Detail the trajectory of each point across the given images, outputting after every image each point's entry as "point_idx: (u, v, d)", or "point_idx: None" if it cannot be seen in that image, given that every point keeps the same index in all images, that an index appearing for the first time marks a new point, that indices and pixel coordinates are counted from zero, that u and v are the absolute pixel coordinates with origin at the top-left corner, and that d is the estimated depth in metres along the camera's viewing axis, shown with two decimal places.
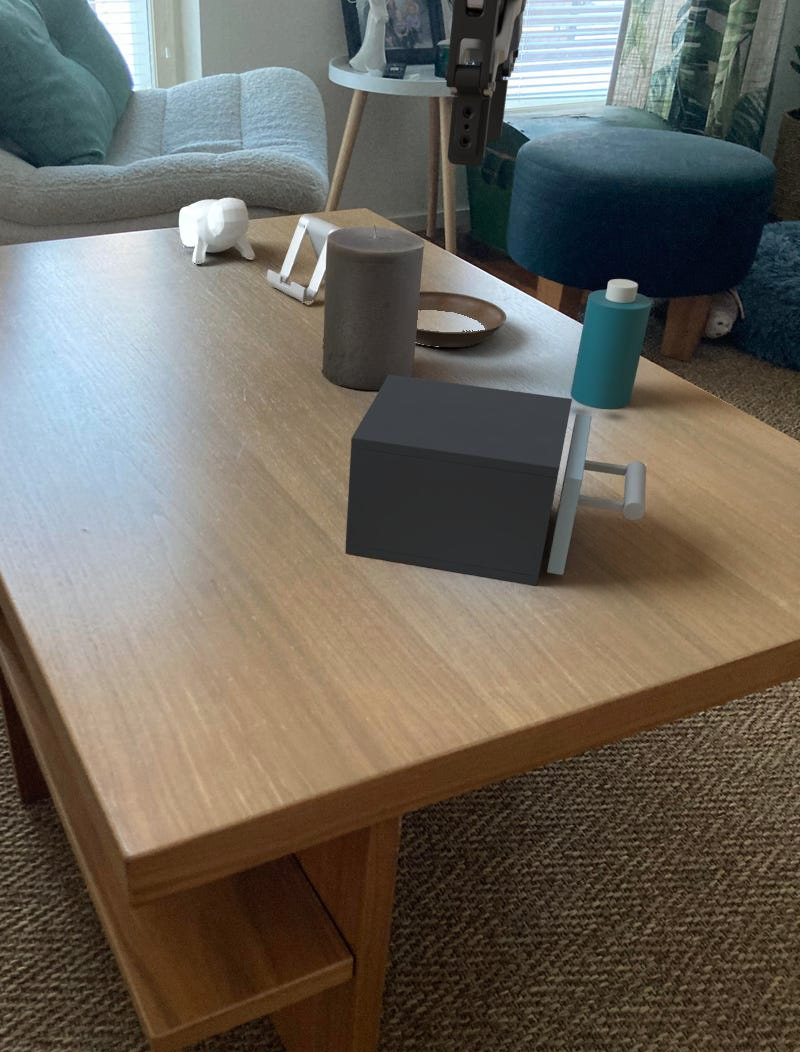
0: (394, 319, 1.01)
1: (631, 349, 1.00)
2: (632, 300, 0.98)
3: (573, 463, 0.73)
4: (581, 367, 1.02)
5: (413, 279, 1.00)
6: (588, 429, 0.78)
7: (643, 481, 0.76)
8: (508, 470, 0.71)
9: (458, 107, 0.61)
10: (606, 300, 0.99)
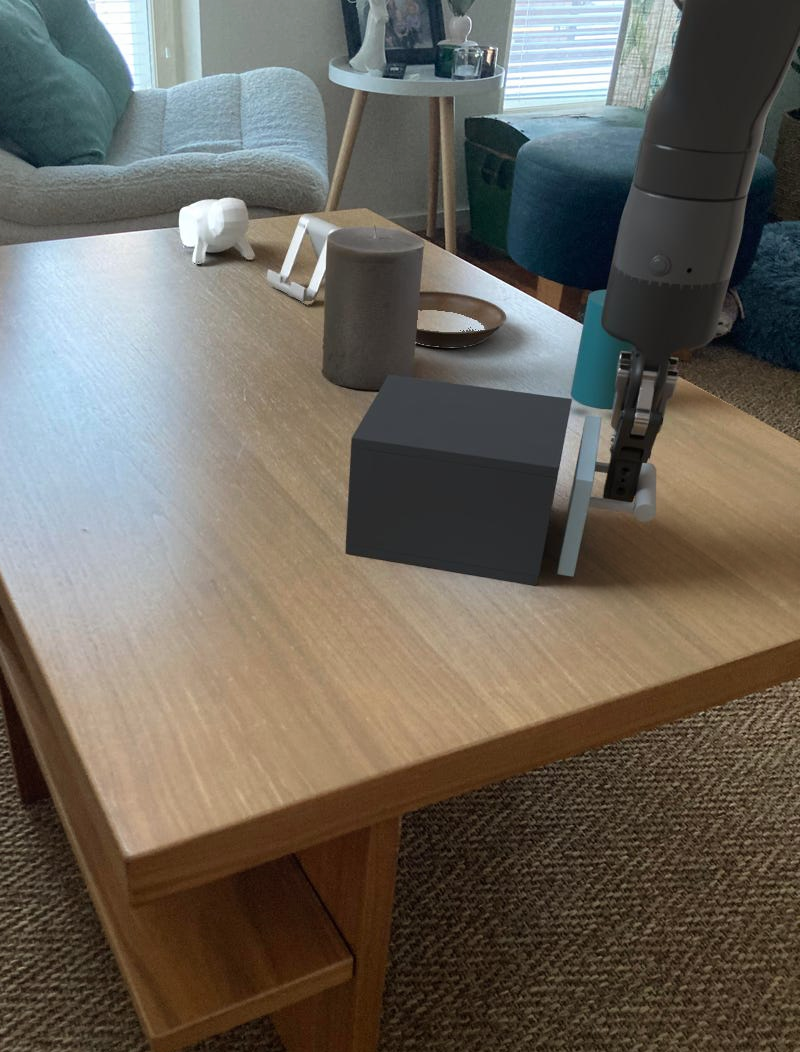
0: (394, 319, 1.01)
1: (631, 349, 1.00)
2: None
3: (584, 464, 0.73)
4: (581, 367, 1.02)
5: (413, 279, 1.00)
6: (598, 430, 0.77)
7: (654, 483, 0.76)
8: (508, 470, 0.71)
9: (617, 467, 0.74)
10: None
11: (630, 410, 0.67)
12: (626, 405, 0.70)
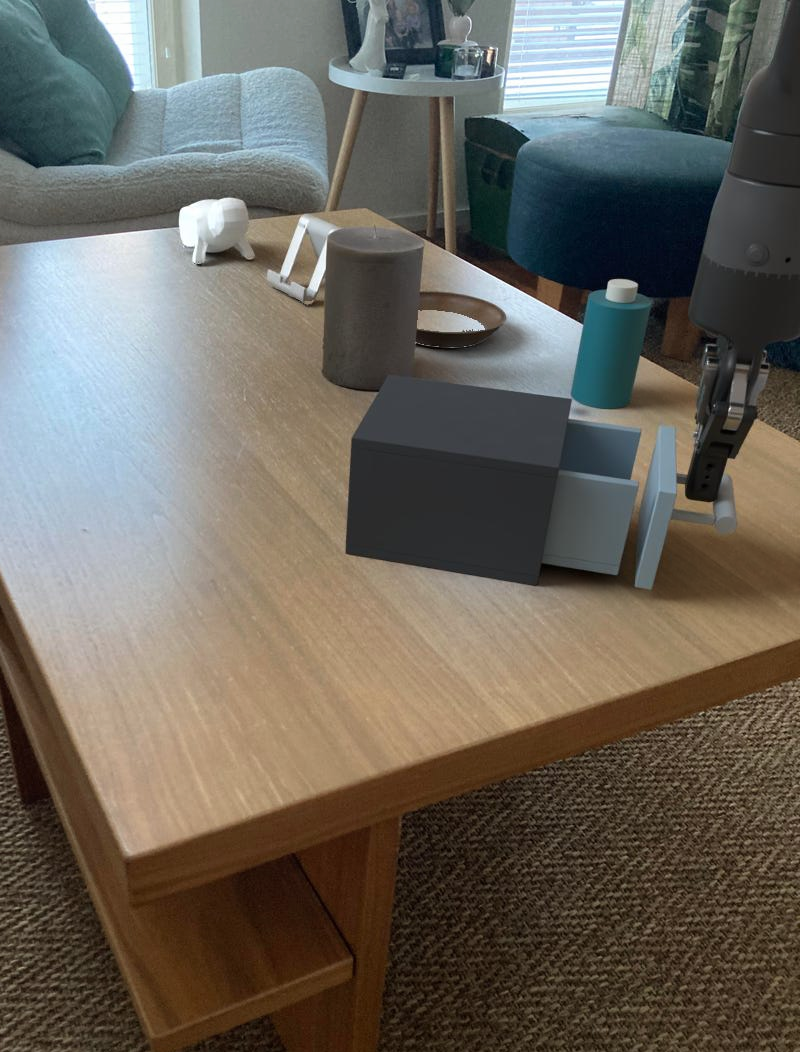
0: (394, 319, 1.01)
1: (631, 349, 1.00)
2: (632, 300, 0.98)
3: (665, 476, 0.71)
4: (581, 367, 1.02)
5: (413, 279, 1.00)
6: (674, 441, 0.76)
7: (732, 494, 0.75)
8: (508, 470, 0.71)
9: (701, 463, 0.72)
10: (606, 300, 0.99)
11: (723, 404, 0.65)
12: (715, 399, 0.68)
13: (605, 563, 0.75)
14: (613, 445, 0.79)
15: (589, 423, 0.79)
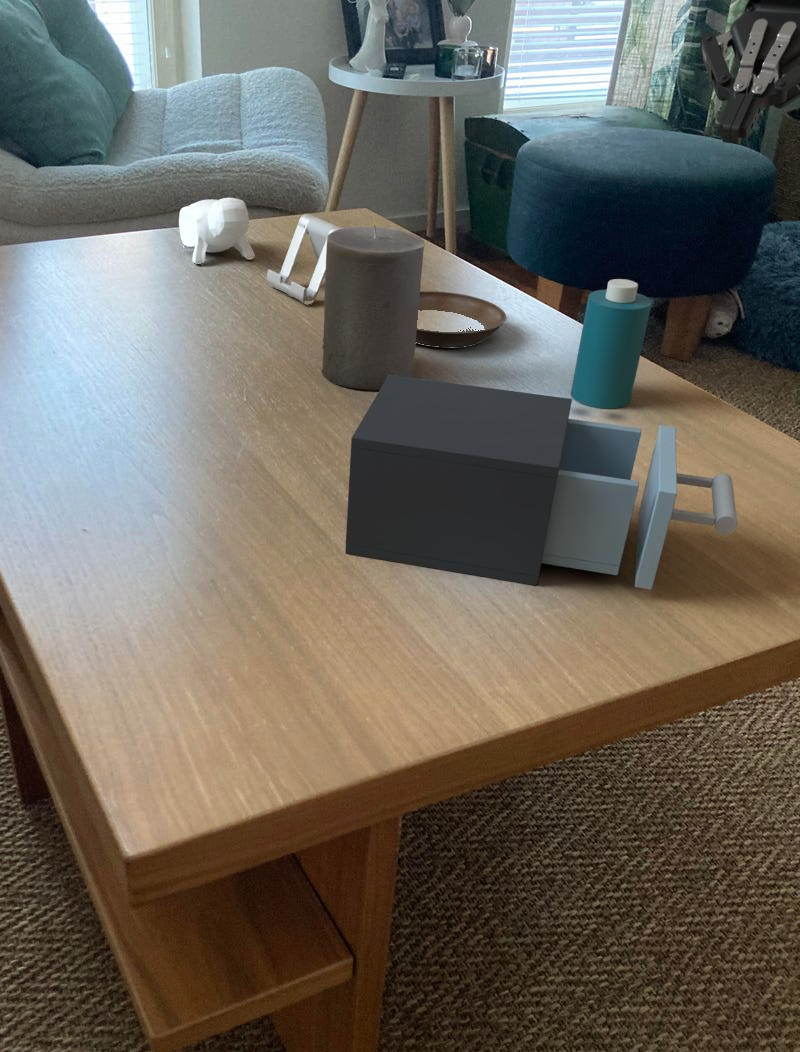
0: (394, 319, 1.01)
1: (631, 349, 1.00)
2: (632, 300, 0.98)
3: (665, 476, 0.71)
4: (581, 367, 1.02)
5: (413, 279, 1.00)
6: (674, 441, 0.76)
7: (732, 494, 0.75)
8: (508, 470, 0.71)
9: None
10: (606, 300, 0.99)
11: None
12: None
13: (605, 563, 0.75)
14: (613, 445, 0.79)
15: (589, 423, 0.79)
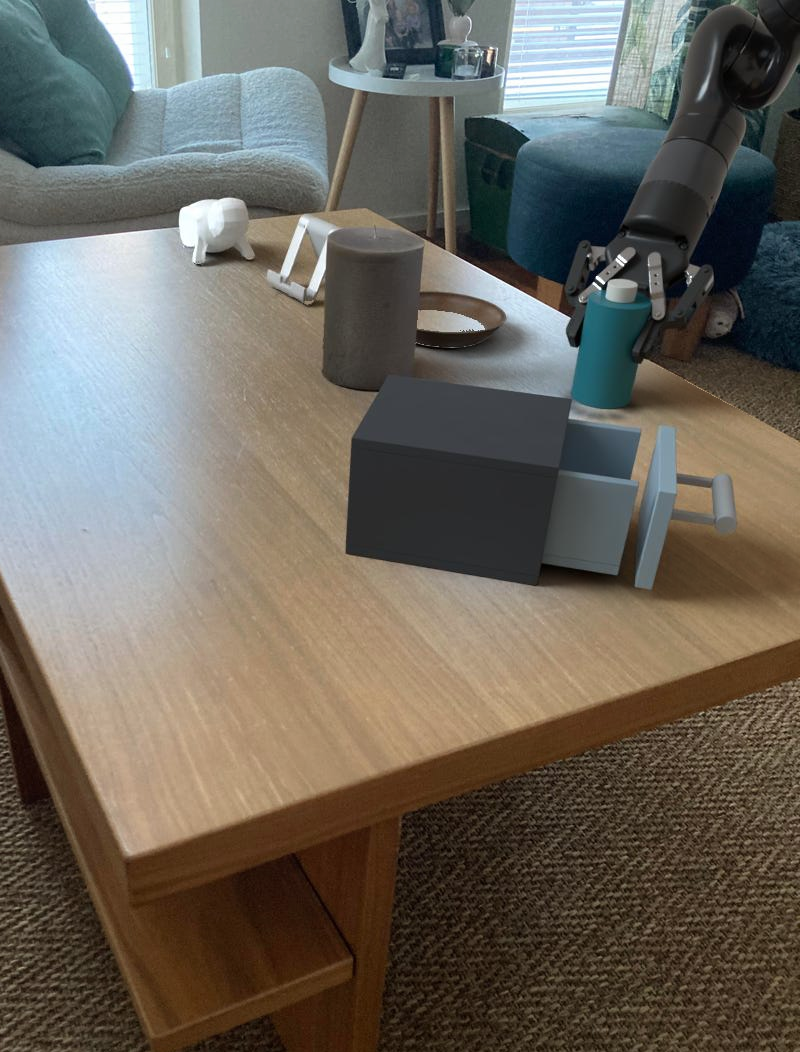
0: (394, 319, 1.01)
1: (631, 349, 1.00)
2: (632, 300, 0.98)
3: (665, 476, 0.71)
4: (581, 367, 1.02)
5: (413, 279, 1.00)
6: (674, 441, 0.76)
7: (732, 494, 0.75)
8: (508, 470, 0.71)
9: None
10: (606, 300, 0.99)
11: None
12: None
13: (605, 563, 0.75)
14: (613, 445, 0.79)
15: (589, 423, 0.79)
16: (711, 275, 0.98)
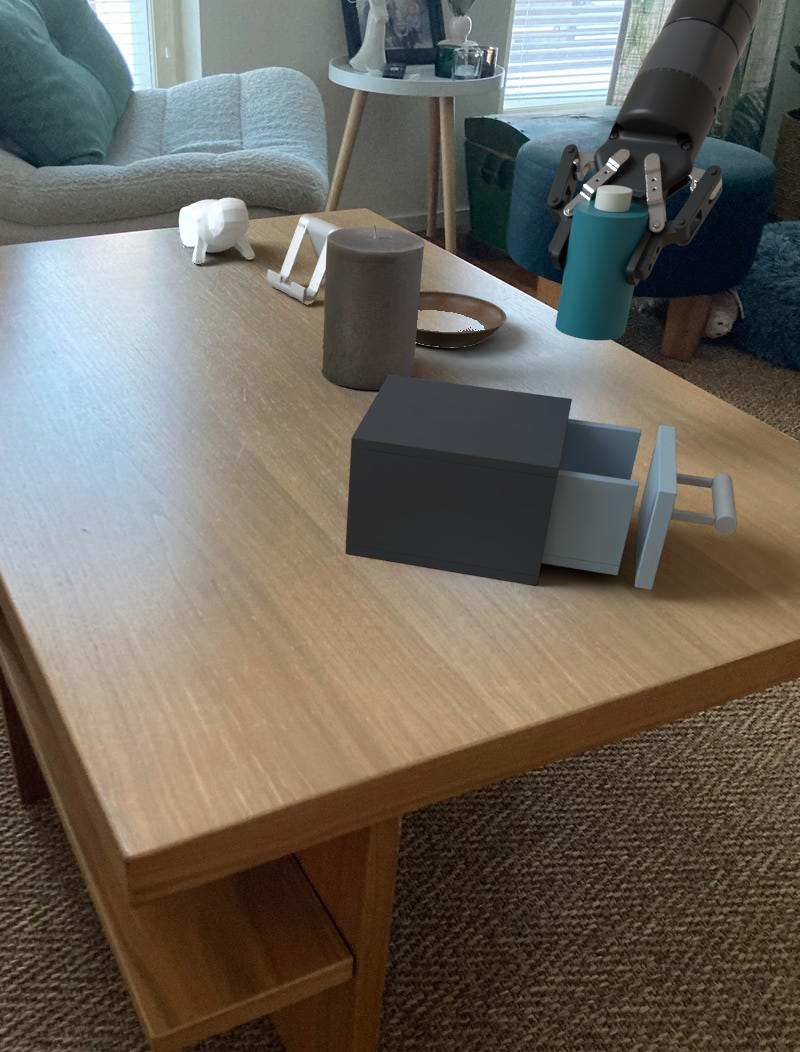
0: (394, 319, 1.01)
1: (625, 268, 0.85)
2: (626, 209, 0.83)
3: (665, 476, 0.71)
4: (567, 291, 0.87)
5: (413, 279, 1.00)
6: (674, 441, 0.76)
7: (732, 494, 0.75)
8: (508, 470, 0.71)
9: None
10: (595, 209, 0.84)
11: None
12: None
13: (605, 563, 0.75)
14: (613, 445, 0.79)
15: (589, 423, 0.79)
16: (719, 178, 0.83)
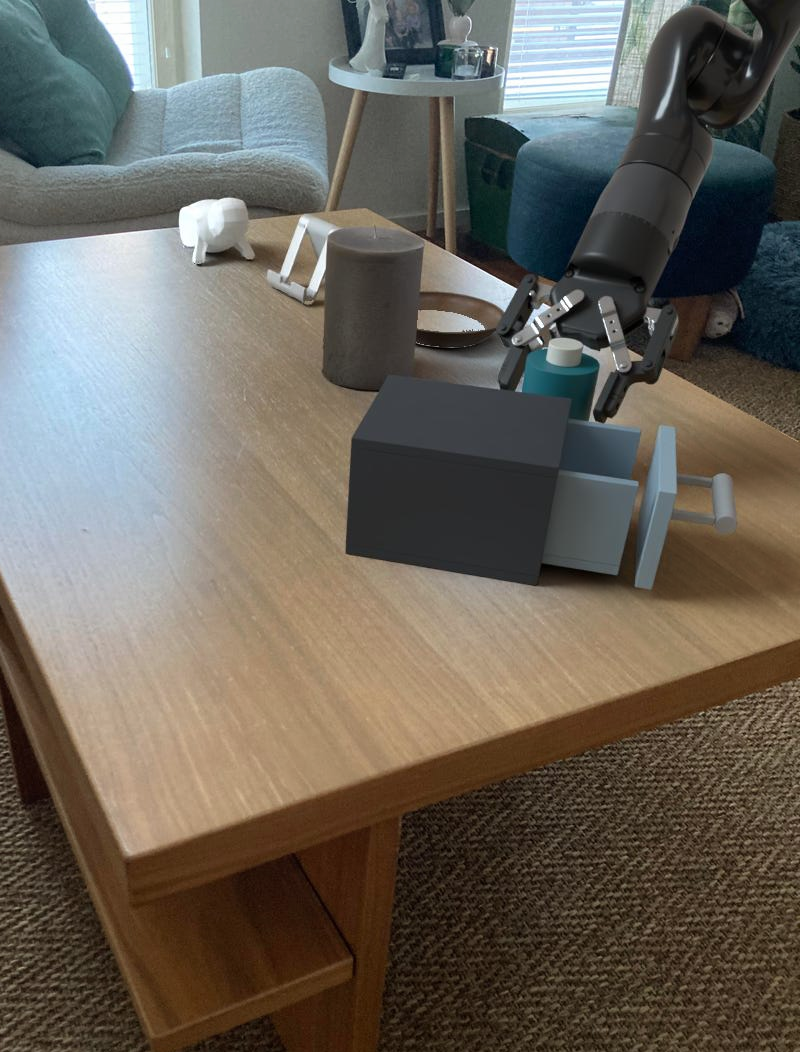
0: (394, 319, 1.01)
1: None
2: (576, 363, 0.84)
3: (665, 476, 0.71)
4: None
5: (413, 279, 1.00)
6: (674, 441, 0.76)
7: (732, 494, 0.75)
8: (508, 470, 0.71)
9: None
10: (546, 363, 0.85)
11: None
12: None
13: (605, 563, 0.75)
14: (613, 445, 0.79)
15: (589, 423, 0.79)
16: (676, 316, 0.83)
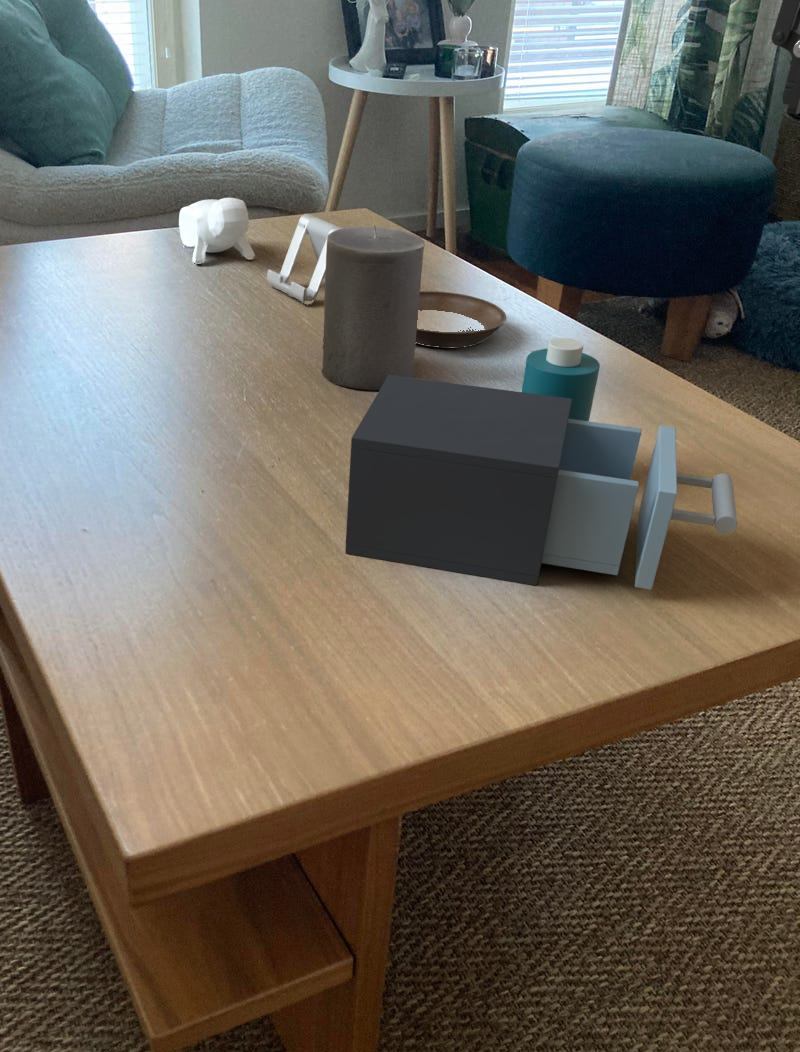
0: (394, 319, 1.01)
1: None
2: (576, 363, 0.84)
3: (665, 476, 0.71)
4: None
5: (413, 279, 1.00)
6: (674, 441, 0.76)
7: (732, 494, 0.75)
8: (508, 470, 0.71)
9: None
10: (546, 363, 0.85)
11: None
12: None
13: (605, 563, 0.75)
14: (613, 445, 0.79)
15: (589, 423, 0.79)
16: None
